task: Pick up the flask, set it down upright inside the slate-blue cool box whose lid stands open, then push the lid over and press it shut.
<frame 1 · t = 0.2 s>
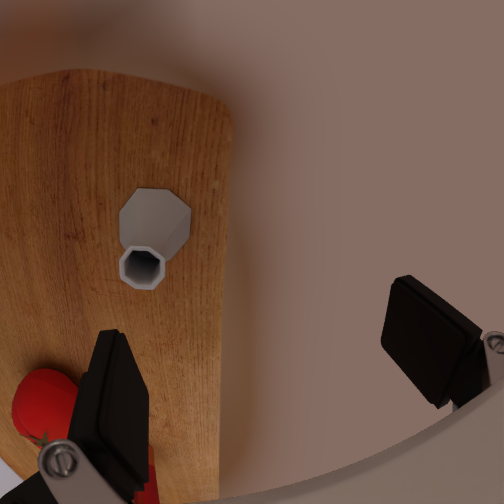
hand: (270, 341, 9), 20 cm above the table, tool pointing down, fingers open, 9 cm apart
flask: (154, 223, 28), on the table
tomato: (60, 384, 32), on the table
coffee cup: (136, 447, 40), on the table
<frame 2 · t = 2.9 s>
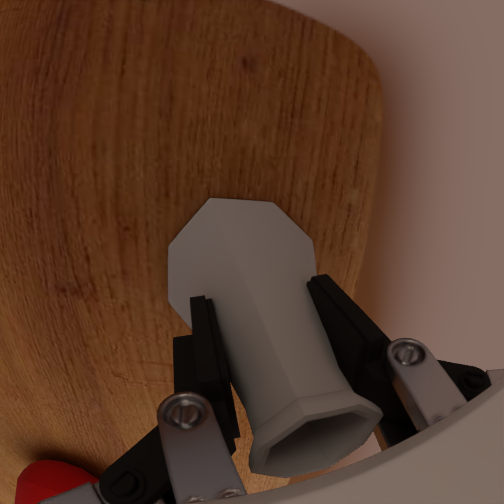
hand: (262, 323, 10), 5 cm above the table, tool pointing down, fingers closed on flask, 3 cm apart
flask: (238, 266, 15), on the table, touching gripper
tomato: (74, 470, 19), on the table
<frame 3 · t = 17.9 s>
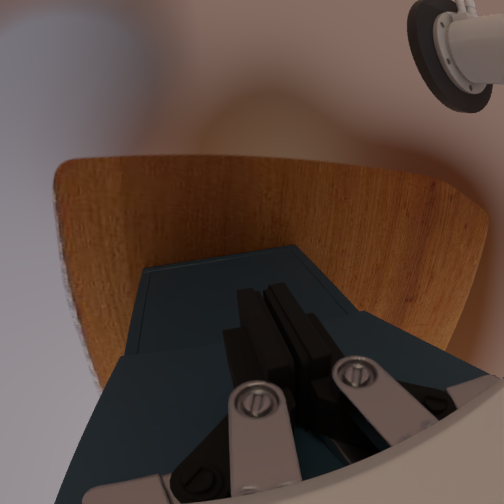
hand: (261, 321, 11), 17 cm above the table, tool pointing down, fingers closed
cool box: (227, 308, 30), on the table
lid: (278, 403, 10), point 19 cm above the table, hinge at 106.9°, touching gripper
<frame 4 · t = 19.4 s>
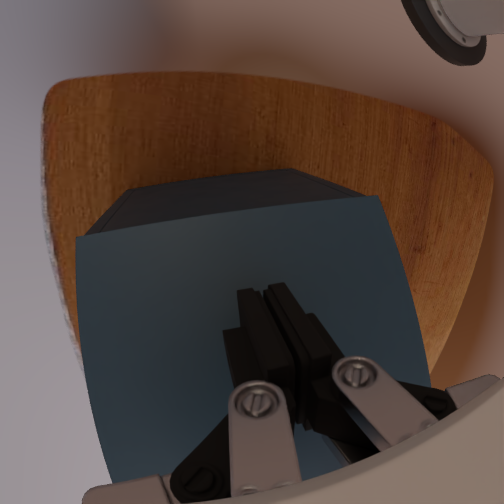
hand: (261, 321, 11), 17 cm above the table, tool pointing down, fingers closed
cool box: (217, 240, 27), on the table
lid: (264, 357, 11), point 17 cm above the table, hinge at 42.1°, touching gripper
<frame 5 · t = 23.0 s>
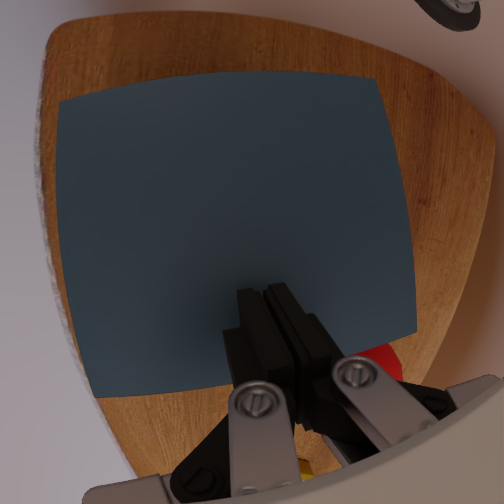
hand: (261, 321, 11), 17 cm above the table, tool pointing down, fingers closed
tomato: (339, 354, 38), on the table
lid: (245, 217, 11), point 15 cm above the table, hinge at 22.0°, touching gripper
element tile: (263, 471, 48), on the table
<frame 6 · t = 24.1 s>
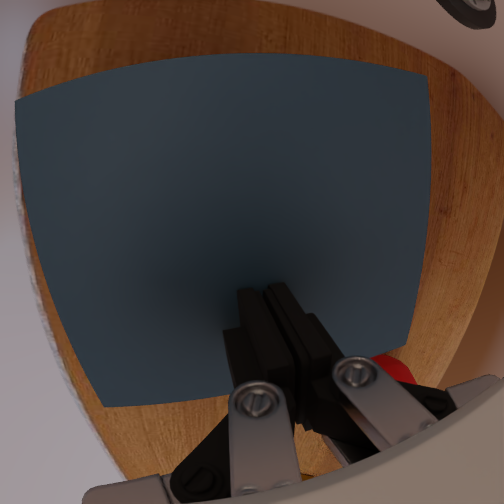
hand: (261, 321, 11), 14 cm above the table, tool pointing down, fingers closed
tomato: (351, 374, 34), on the table
lid: (254, 247, 10), point 13 cm above the table, hinge at 1.7°, touching gripper
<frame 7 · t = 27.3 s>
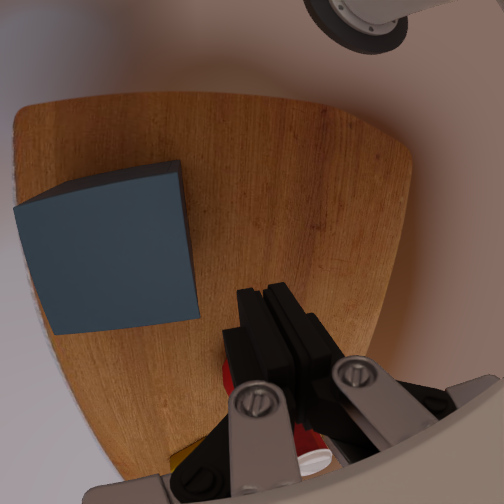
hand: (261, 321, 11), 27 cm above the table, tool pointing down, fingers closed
cool box: (127, 217, 34), on the table
lid: (102, 263, 23), point 13 cm above the table, hinge at 1.4°
coffee cup: (287, 407, 54), on the table
element tile: (211, 455, 57), on the table
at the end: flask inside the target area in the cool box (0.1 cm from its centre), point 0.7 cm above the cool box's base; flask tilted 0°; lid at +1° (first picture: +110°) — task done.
